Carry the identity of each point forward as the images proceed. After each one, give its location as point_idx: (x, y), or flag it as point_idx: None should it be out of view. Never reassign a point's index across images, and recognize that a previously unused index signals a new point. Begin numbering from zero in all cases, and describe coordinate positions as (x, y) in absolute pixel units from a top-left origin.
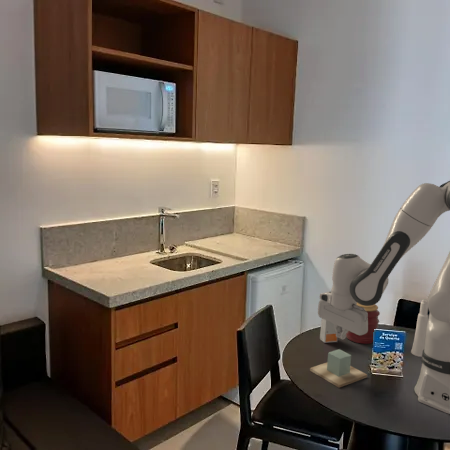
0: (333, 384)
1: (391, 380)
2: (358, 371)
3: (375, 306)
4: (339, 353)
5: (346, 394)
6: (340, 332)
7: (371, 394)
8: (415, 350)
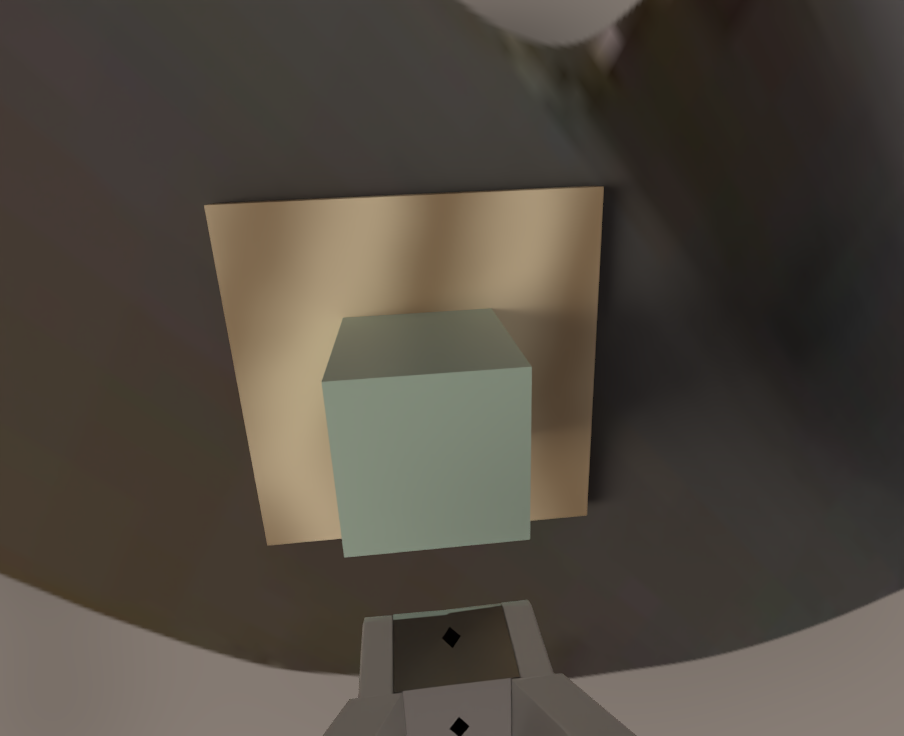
0: None
1: (766, 8)
2: (518, 216)
3: None
4: (424, 461)
5: (664, 512)
6: (432, 719)
7: (773, 366)
8: None
